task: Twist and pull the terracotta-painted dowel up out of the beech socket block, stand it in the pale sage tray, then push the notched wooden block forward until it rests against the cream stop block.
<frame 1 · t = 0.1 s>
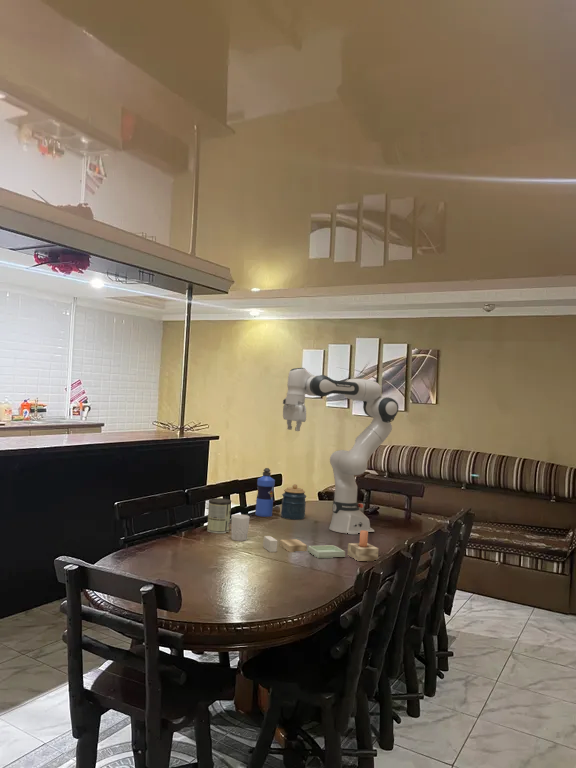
hand: (293, 430, 276), 48 cm above the table, tool pointing down, fingers open, 8 cm apart
dowel: (363, 544, 235), in the socket block
tray: (326, 554, 237), on the table
water bottle: (263, 515, 310), on the table
canister: (292, 517, 309), on the table
coffee can: (217, 531, 265), on the table
white cup: (239, 539, 253), on the table
socket block: (362, 558, 235), on the table
notched wooden block: (292, 549, 243), on the table
stop: (269, 549, 239), on the table
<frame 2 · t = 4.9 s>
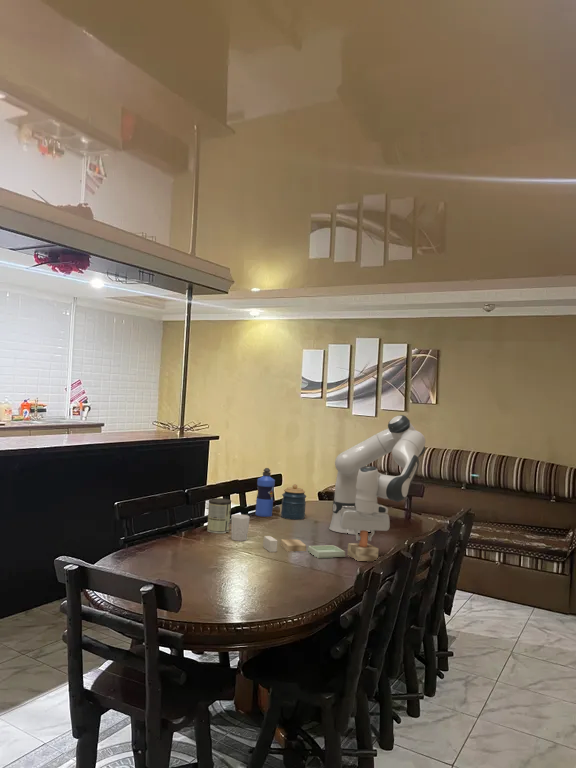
hand: (363, 540, 235), 7 cm above the table, tool pointing down, fingers closed on dowel, 3 cm apart
dowel: (363, 544, 235), in the socket block, touching gripper
everything else where it was.
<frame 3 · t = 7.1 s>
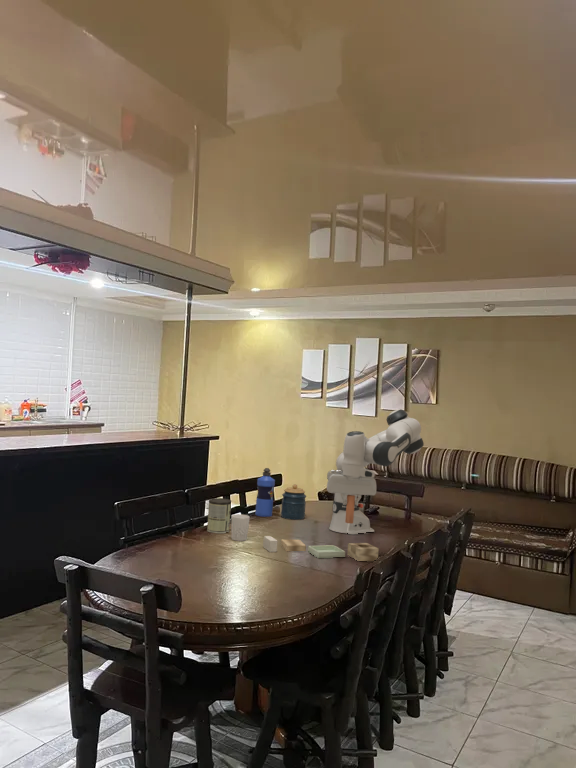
hand: (350, 504, 236), 21 cm above the table, tool pointing down, fingers closed on dowel, 3 cm apart
dowel: (350, 509, 236), point 19 cm above the table, touching gripper
everything else where it was.
when the fingers open (10 cm above the table, at t = 9.6 s): dowel drops 2 cm, resting on tray.
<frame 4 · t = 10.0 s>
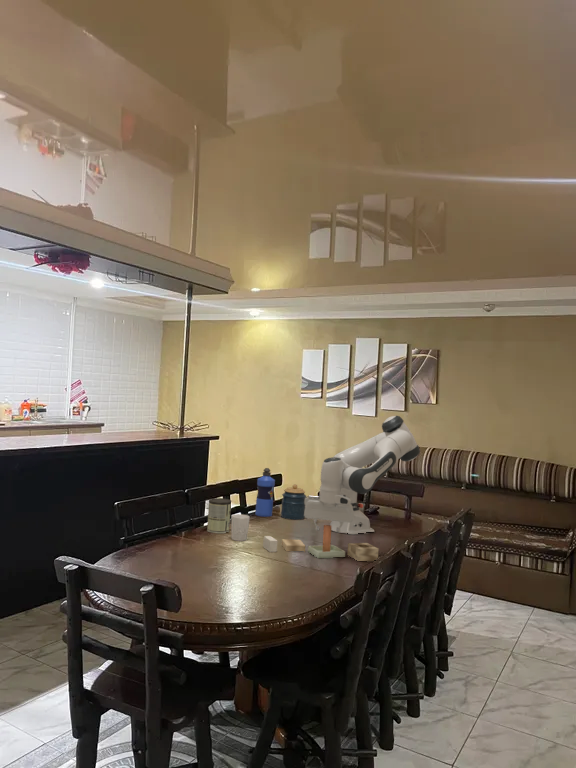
hand: (327, 531, 237), 10 cm above the table, tool pointing down, fingers open, 7 cm apart
dowel: (326, 539, 237), in the tray, point 6 cm above the table
everything else where it was.
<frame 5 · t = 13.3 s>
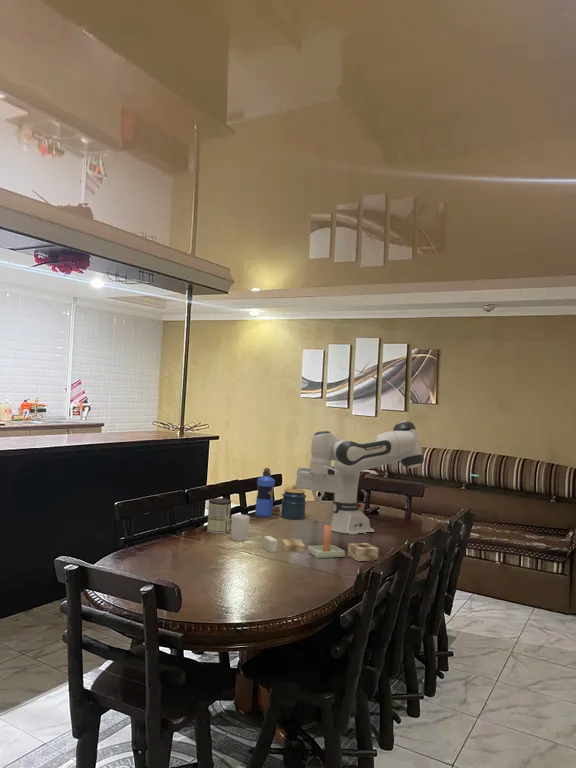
hand: (317, 501, 247), 20 cm above the table, tool pointing down, fingers closed
nothing on the table moved.
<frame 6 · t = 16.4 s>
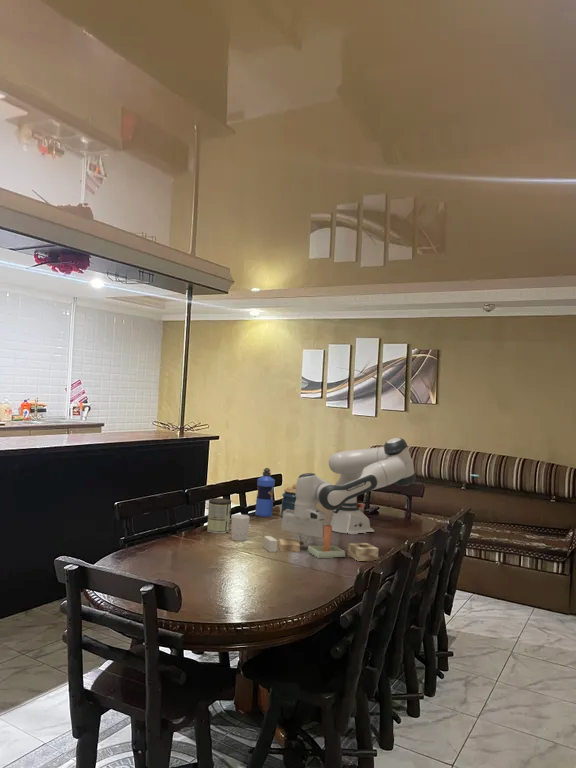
hand: (302, 544, 244), 2 cm above the table, tool pointing down, fingers closed
notched wooden block: (289, 549, 242), on the table
everything else where it was.
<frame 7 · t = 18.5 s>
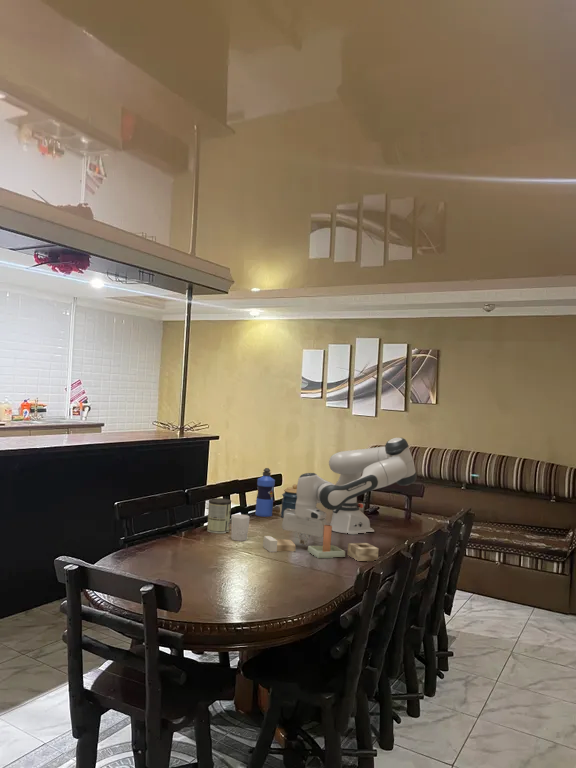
hand: (303, 544, 245), 2 cm above the table, tool pointing down, fingers closed
notched wooden block: (283, 549, 242), on the table
everything else where it was.
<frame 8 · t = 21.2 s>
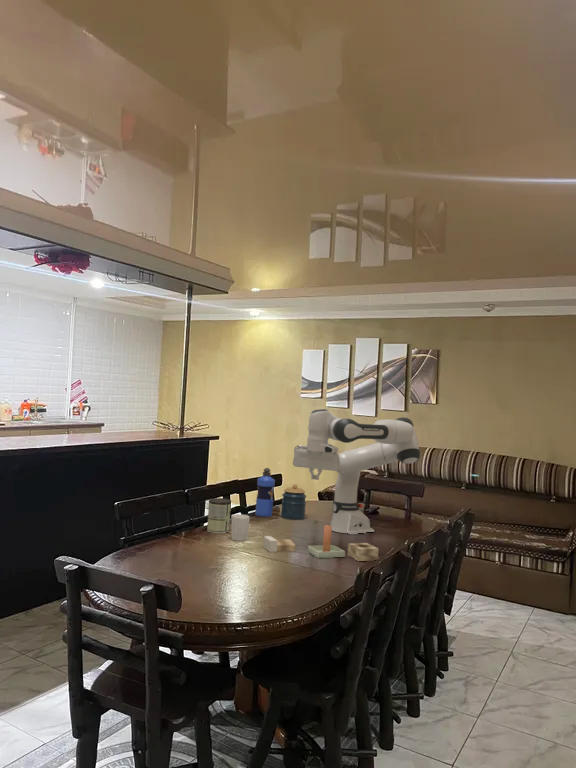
hand: (315, 479, 247), 29 cm above the table, tool pointing down, fingers closed
nothing on the table moved.
at the end: dowel inside the target area on the tray (0.1 cm from its centre), point 6.3 cm above the tray's base; notched wooden block 1.3 cm from the target spot, on the table; the gripper is holding nothing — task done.
